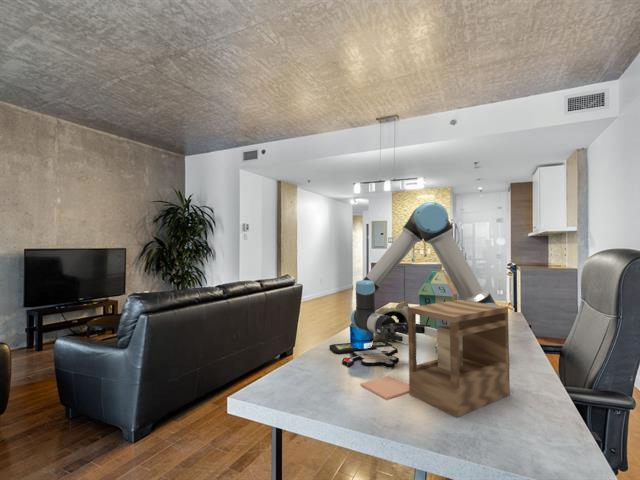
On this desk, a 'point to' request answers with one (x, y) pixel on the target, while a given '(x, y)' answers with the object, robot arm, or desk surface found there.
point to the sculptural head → (396, 313)
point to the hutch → (478, 357)
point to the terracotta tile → (386, 387)
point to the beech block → (447, 348)
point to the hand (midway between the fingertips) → (426, 337)
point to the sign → (368, 354)
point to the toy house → (436, 295)
